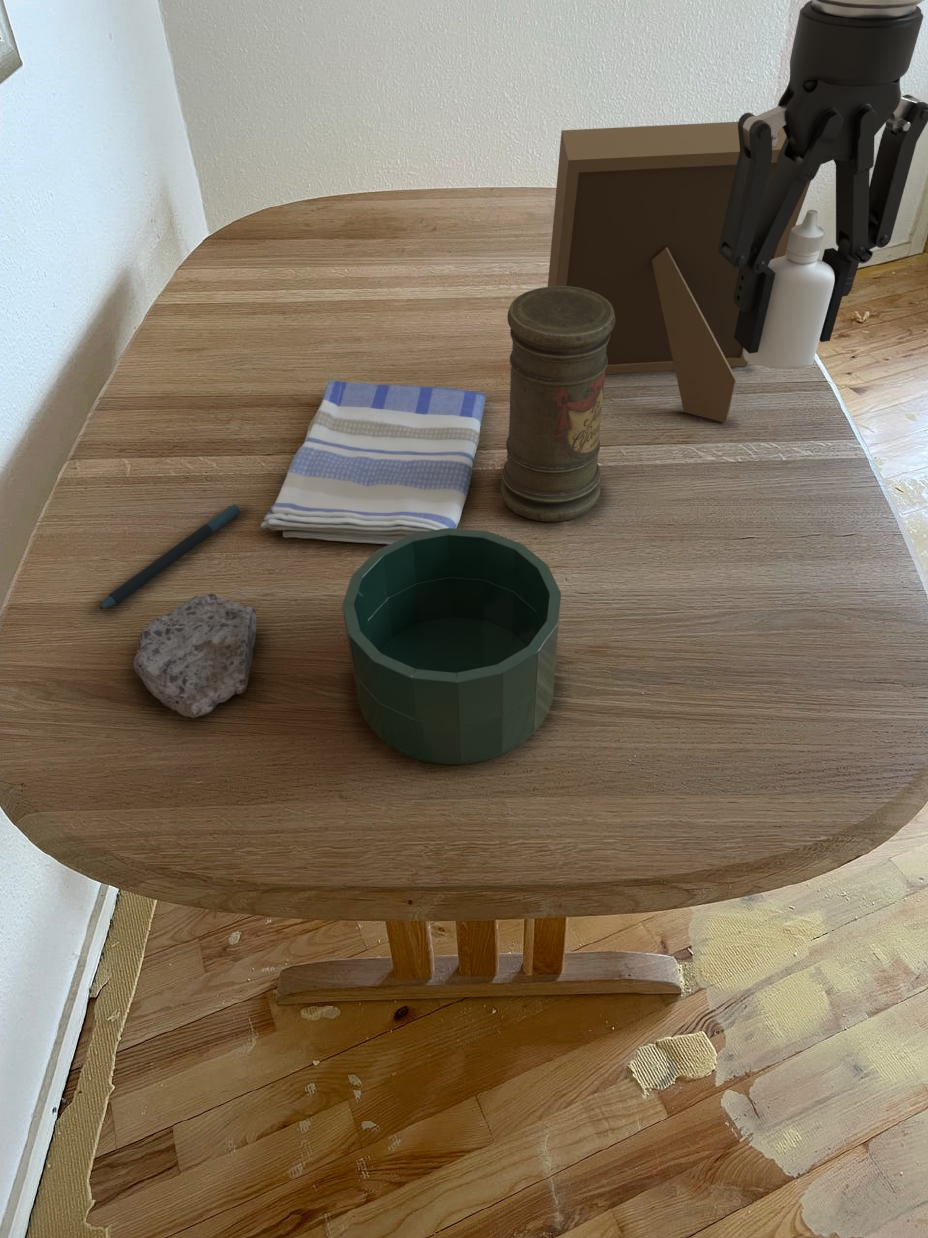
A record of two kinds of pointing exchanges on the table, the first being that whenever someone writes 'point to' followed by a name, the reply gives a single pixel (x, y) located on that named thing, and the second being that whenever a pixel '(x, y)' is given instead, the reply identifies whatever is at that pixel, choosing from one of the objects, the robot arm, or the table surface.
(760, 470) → the table surface
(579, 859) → the table surface
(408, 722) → the pot
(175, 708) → the rock
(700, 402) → the photo frame
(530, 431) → the container
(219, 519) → the pen
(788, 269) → the eye dropper bottle
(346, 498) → the dish towel
